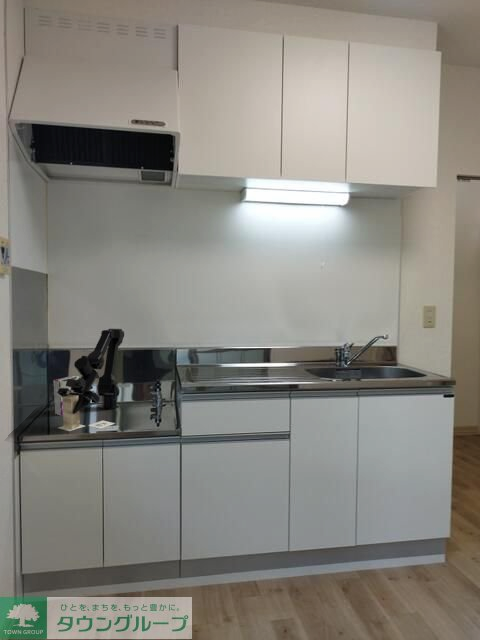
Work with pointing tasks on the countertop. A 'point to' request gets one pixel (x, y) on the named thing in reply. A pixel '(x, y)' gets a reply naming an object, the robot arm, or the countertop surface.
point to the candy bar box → (57, 398)
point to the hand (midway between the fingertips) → (68, 412)
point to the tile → (71, 429)
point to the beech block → (70, 412)
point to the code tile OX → (101, 424)
